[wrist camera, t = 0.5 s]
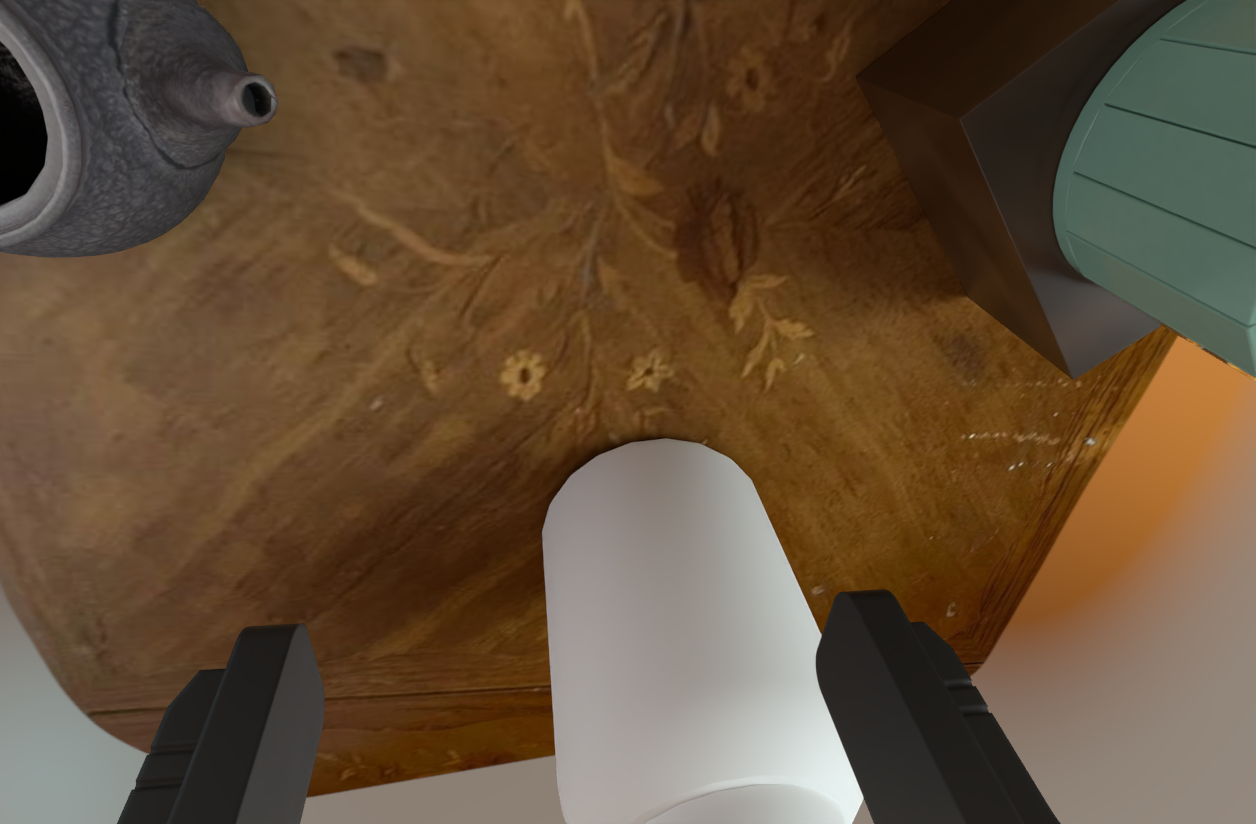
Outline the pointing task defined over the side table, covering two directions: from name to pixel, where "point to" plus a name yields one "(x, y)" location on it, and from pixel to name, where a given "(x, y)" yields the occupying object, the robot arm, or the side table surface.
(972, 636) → the side table surface
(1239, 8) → the green cup
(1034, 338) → the block
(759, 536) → the can
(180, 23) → the teapot
